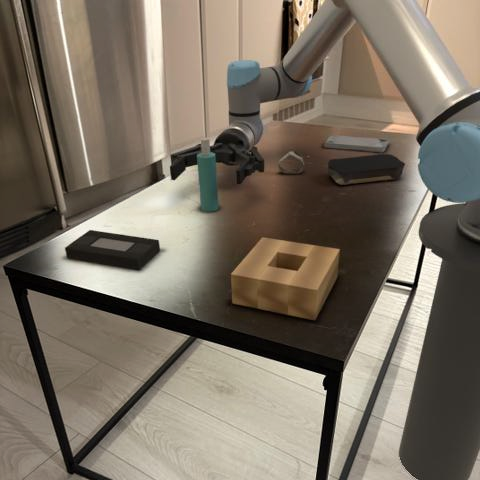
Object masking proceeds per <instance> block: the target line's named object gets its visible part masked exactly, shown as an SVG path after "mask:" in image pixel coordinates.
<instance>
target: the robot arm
mask: <svg viewBox="0 0 480 480" xmlns="http://www.w3.org/2000/svg"><path fill="white" fill-rule="evenodd" d="M356 23H357V25H358V26H359V28H360V30H361V31H362V33H363V35H364V36H365V38H366V40H367V41H368V43H369V44H370V46H371V48H372V49H373V51H374V53H375V54H376V56H377V57H378V59H379V61H380V62H381V64H382V66H383V67H384V69H385V71H386V72H387V74H388V76H389V77H390V79H391V80H392V82H393V84H394V85H395V87H396V89H397V90H398V92H399V94H400V95H401V97H402V98H403V100H404V101H405V103H406V105H407V107H408V108H409V110H410V112H411V113H412V115H413V116H414V118H415V120H416V121H417V123H418V129H417V133H416V136H415V138H416V139H415V140H416V142H417V143H418V146H419V150H418V152H417V159H418V160H419V163H418V164H417V170H418V173H419V174H418V175H419V176H420V179H421V181H422V183H423V184H424V186H425V187H426V188H427V189H428V191H429V192H431V193H432V194H433V195H434V196H436V197H437V198H439V199H441V200H443V201H445V202H450V203H453V204H461V203H465V205H466V206H465V205H464V206H465V207H464V209H463V210H462V212H461V214H460V216H459V218H458V222H457V226H456V228H457V231H458V233H459V234H460V235H461V236H463V237H464V238H465V239H467V240H469V241H471V242H473V243H475V244H478V245H480V87H473V86H472V85H471V83H470V82H469V80H468V79H467V77H466V76H465V75H464V73H463V71H462V70H461V68H460V67H459V65H458V64H457V61H456V60H455V59H454V57H453V56H452V54H451V52H450V51H449V50H448V48H447V46H446V45H445V42H444V41H443V40H442V38H441V36H440V35H439V33H438V32H437V30H436V29H435V27H434V26H433V24H432V23H431V21H430V20H429V18H428V16H427V15H426V13H425V11H424V10H423V8H422V7H421V5H420V4H419V2H418V0H324V1H323V2H322V4H320V6H319V8H318V9H317V11H316V12H315V14H314V15H313V16H312V18H311V19H310V20H309V22H308V23H307V25H306V26H305V27H304V29H303V30H302V31H301V33H300V34H299V36H298V37H297V39H296V40H295V42H294V43H293V44H292V45H291V47H290V48H289V50H288V51H287V53H286V54H285V55H284V57H283V58H282V60H281V61H280V62H279V63H278V64H276V65H273V66H266V67H261V66H260V63H259V62H258V60H252V59H244V60H234V61H231V62H230V63H229V64H228V65H227V69H226V87H227V101H228V126H227V127H226V128H225V129H224V130H222V132H220V134H218V135H217V137H215V140H214V142H213V145H210V152H212V153H215V156H216V164H217V163H218V164H221V163H222V164H223V165H226V166H230V167H231V166H233V167H234V166H235V167H237V166H238V167H237V169H236V170H235V179H236V180H235V181H236V185H240V186H241V185H242V183H243V182H244V181H245V180H246V178H247V177H250V176H252V175H253V174H254V173H256V171H257V172H258V173H260V174H261V173H264V172H265V159H264V157H263V156H262V154H261V153H260V152H259V151H258V146H256V145H258V144H259V142H260V141H261V138H262V137H263V135H264V123H263V120H262V118H261V104H264V103H269V102H275V101H281V100H286V99H295V98H298V97H300V96H303V95H305V94H307V93H308V92H309V90H310V89H311V84H313V83H312V82H313V74H314V73H315V72H316V70H317V69H318V68H319V67H320V65H321V64H322V63H323V62H324V61H325V59H326V58H328V56H329V55H330V54H331V52H332V51H334V49H335V47H336V46H337V45H338V44H339V43H340V42H341V40H343V38H344V37H345V36H346V34H347V33H348V32H349V31H350V30H351V29H352V27H353V26H354V25H355V24H356ZM199 153H202V148H201V143H197V144H196V145H195V146H192V147H189V148H186V149H183V150H180V151H176V152H174V153H171V154H170V164H171V165H169V173H170V180H171V181H176V180H177V179H178V178H179V177H180V176H181V175H182V174H183V173H184V172H185V171H187V168H190V167H194V166H198V164H197V154H199Z"/></svg>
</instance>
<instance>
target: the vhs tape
mask: <svg viewBox="0 0 480 480" xmlns="http://www.w3.org/2000/svg"><path fill="white" fill-rule="evenodd" d="M64 251H65V255H66V258H68V259H74V260H80V261H85V262H91V263H97V264H102V265H109V266H113V267H119V268H127V269H132V270H138V271H139V270H141V269H142V268H143V267H144V266H145V265H147V264H148V263H149V262H150V261H151V260H152V259H153V258H154V257H155V256H156V255H157V254H158V253H159V252H160V251H161V246H160V240H159V239H154V238H148V237H141V236H135V235H127V234H121V233H114V232H106V231H101V230H100V231H99V230H94V229H89V230H88V231H86V232H85V233H84V234H82V235H81V236H79V237H78V238H76V239H74V240H73V241H72V242H71V243H69V244H68V245H66V246H65V247H64Z"/></svg>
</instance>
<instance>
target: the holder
mask: <svg viewBox="0 0 480 480" xmlns="http://www.w3.org/2000/svg"><path fill="white" fill-rule="evenodd" d="M340 250H341V249H340V248H334V247H329V246H323V245H314V244H310V243H309V244H308V243H302V242H295V241H290V240H284V239H283V240H282V239H278V238H277V239H276V238H270V237H261V238H260V239H259V241H258V242H257V243H256V244H255V245H254V246H253V248H251V250H250V251H249V252H248V253H247V254H246V256H245V257H244V258H243V259H242V261H241V262H239V264H238V265H237V266H236V267H235V268H234V270H233V271H232V272H231V273H230V281H231V282H230V283H231V284H230V285H231V303H232V304H233V305H238V306H243V307H247V308H253V309H258V310H263V311H267V312H271V313H277V314H282V315H285V316H291V317H296V318H301V319H306V320H310V321H316V320H317V318H318V316H319V314H320V312H321V310H322V308H323V307H324V304H325V302H326V301H327V298H328V296H329V295H330V293H331V290H332V289H333V286H334V285H335V283H336V281H337V279H338V273H339V262H340V254H341V253H340Z"/></svg>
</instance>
